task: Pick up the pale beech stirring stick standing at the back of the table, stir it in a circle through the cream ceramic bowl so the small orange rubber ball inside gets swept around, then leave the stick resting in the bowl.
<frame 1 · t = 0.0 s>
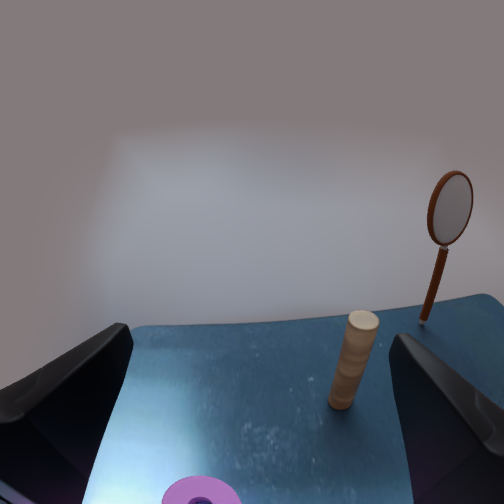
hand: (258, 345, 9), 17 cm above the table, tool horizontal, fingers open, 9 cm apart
magnifying glass: (420, 325, 33), on the table
stirring stick: (340, 400, 24), on the table
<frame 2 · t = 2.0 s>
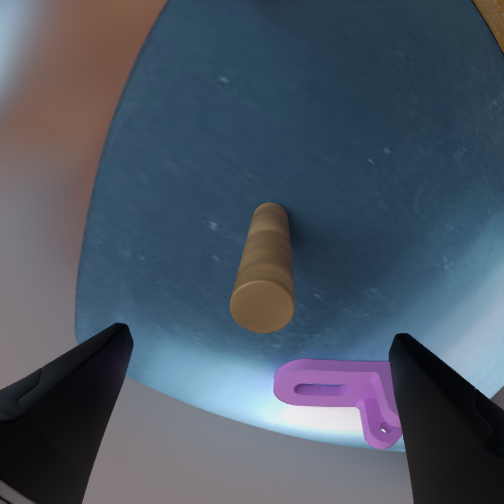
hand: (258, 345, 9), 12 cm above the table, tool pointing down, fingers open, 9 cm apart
bracket: (339, 378, 26), on the table
small box: (501, 18, 10), on the table
stirring stick: (270, 219, 20), on the table
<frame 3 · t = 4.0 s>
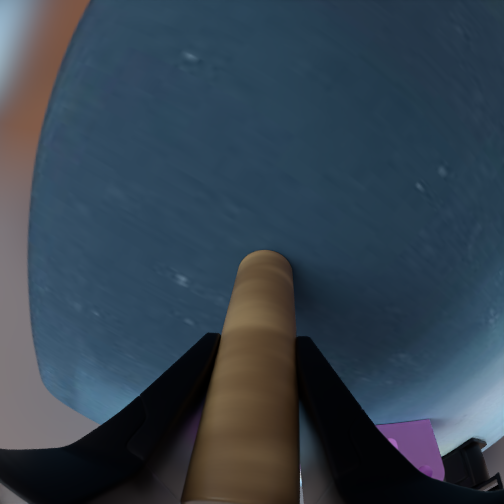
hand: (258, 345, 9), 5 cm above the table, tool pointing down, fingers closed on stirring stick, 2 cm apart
bracket: (348, 440, 19), on the table
stirring stick: (265, 273, 13), on the table, touching gripper
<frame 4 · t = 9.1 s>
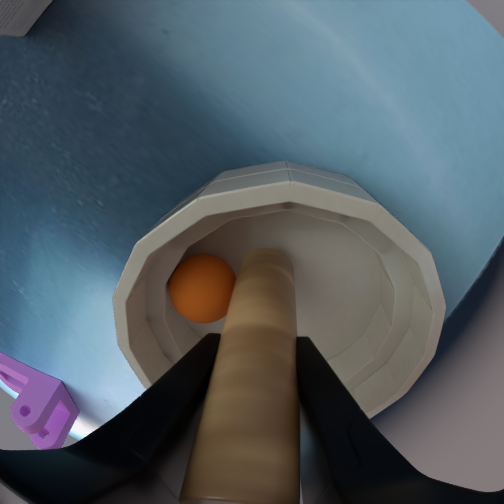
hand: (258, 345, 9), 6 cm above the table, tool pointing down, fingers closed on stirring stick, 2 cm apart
ball: (203, 288, 13), point 2 cm above the table, tilted 31°, touching bowl, stirring stick
bracket: (30, 377, 23), on the table
stirring stick: (266, 272, 13), point 1 cm above the table, touching ball, gripper
bowl: (280, 291, 15), on the table
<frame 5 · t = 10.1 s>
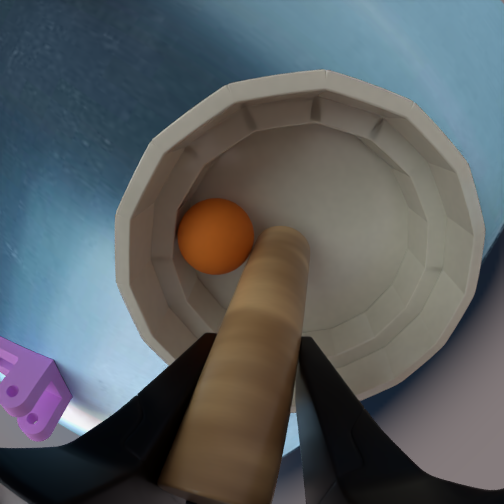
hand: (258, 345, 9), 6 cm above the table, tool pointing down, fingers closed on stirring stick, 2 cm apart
ball: (215, 236, 11), point 2 cm above the table, tilted 30°, touching bowl
bracket: (21, 359, 22), on the table
stirring stick: (282, 250, 12), point 1 cm above the table, tilted 10°, touching gripper
bowl: (300, 236, 14), on the table
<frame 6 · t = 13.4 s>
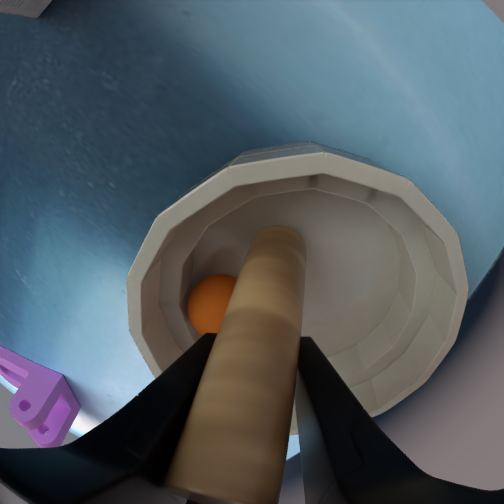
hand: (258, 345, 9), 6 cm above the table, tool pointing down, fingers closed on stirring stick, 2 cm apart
ball: (220, 308, 13), point 2 cm above the table, tilted 52°, touching bowl
bracket: (30, 372, 23), on the table
stirring stick: (278, 249, 13), point 1 cm above the table, tilted 9°, touching gripper
bowl: (297, 278, 15), on the table
when the fingers open (6 cm above the table, at t = 14.3 s): stirring stick stays where it is, resting on bowl.
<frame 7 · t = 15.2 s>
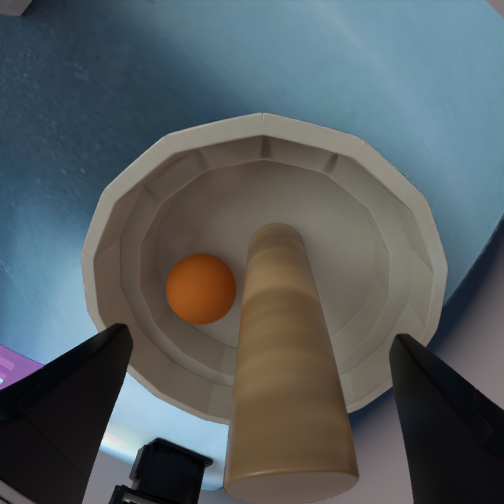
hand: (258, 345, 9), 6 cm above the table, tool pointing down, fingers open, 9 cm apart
ball: (200, 289, 12), point 2 cm above the table, tilted 36°, touching bowl
bracket: (18, 365, 22), on the table
stirring stick: (276, 248, 13), point 1 cm above the table, touching bowl
bowl: (265, 262, 14), on the table
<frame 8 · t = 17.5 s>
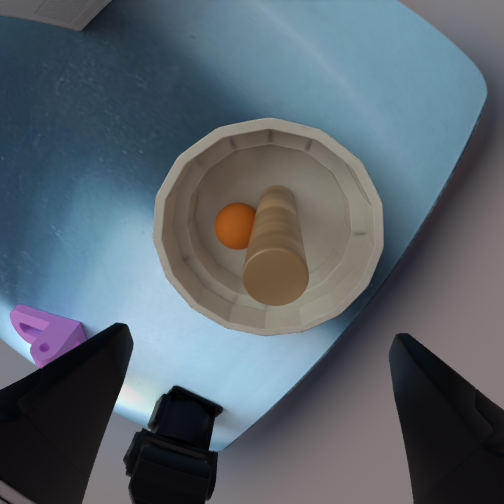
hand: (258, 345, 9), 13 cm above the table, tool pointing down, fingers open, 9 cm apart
ball: (238, 226, 19), point 2 cm above the table, tilted 39°, touching bowl
bracket: (48, 327, 29), on the table
stirring stick: (276, 202, 19), point 1 cm above the table, touching bowl
bowl: (270, 214, 21), on the table
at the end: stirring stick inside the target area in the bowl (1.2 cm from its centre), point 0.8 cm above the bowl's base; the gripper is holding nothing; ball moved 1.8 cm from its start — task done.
